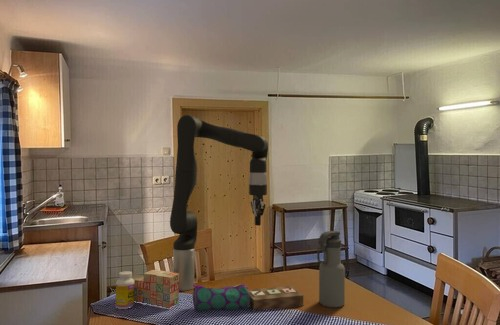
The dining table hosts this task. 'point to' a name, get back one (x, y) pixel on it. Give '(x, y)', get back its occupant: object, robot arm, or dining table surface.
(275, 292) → the button one dot
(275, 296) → the button panel
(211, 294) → the pencil case
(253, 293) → the button three dots
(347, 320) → the dining table surface
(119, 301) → the supplement bottle
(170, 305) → the stack of blocks
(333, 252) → the water bottle
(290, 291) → the button two dots
